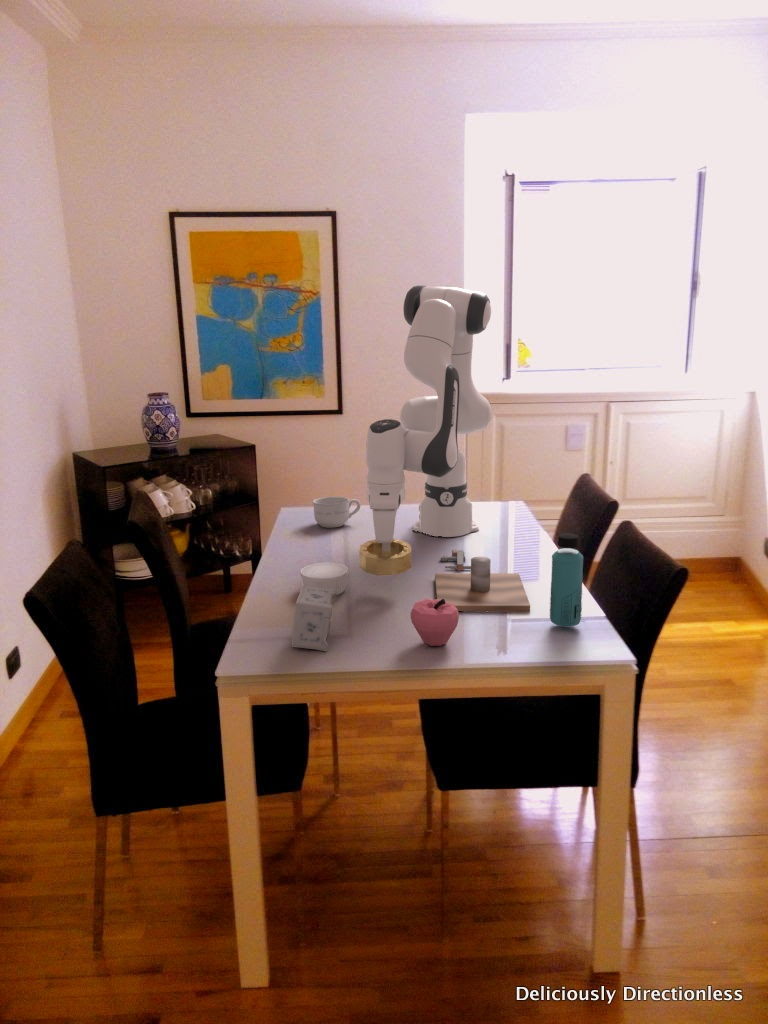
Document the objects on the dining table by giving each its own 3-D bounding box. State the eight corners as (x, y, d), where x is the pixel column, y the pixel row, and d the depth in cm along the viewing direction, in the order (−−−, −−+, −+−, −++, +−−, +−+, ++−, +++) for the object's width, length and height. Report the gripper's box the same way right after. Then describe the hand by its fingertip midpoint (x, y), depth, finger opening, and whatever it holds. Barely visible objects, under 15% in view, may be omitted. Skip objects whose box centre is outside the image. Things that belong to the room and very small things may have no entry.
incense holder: (333, 652, 158) (331, 603, 155) (291, 652, 158) (288, 603, 155) (338, 631, 167) (336, 584, 164) (298, 631, 167) (295, 584, 165)
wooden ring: (362, 553, 191) (361, 538, 189) (411, 554, 190) (411, 538, 189) (358, 575, 180) (357, 558, 178) (410, 575, 179) (410, 559, 178)
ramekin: (296, 586, 193) (295, 565, 191) (341, 579, 196) (340, 559, 195) (307, 602, 183) (306, 580, 181) (354, 595, 186) (354, 574, 185)
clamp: (440, 549, 212) (479, 549, 211) (440, 557, 212) (479, 557, 211) (439, 568, 197) (480, 569, 196) (439, 577, 198) (480, 578, 197)
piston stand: (435, 579, 195) (435, 546, 193) (518, 579, 194) (519, 545, 192) (437, 612, 176) (437, 575, 174) (530, 611, 175) (531, 575, 173)
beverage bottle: (575, 636, 163) (580, 541, 157) (544, 629, 166) (547, 537, 161) (584, 624, 168) (589, 532, 163) (553, 618, 172) (557, 528, 166)
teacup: (311, 530, 236) (310, 504, 233) (316, 520, 246) (315, 494, 244) (359, 530, 235) (358, 503, 233) (361, 519, 245) (361, 494, 243)
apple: (455, 633, 165) (456, 588, 162) (461, 652, 157) (462, 604, 154) (409, 635, 165) (408, 589, 162) (412, 654, 156) (412, 606, 154)
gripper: (374, 479, 195) (375, 534, 199) (369, 504, 175) (370, 563, 179) (401, 479, 195) (401, 534, 199) (398, 504, 175) (398, 564, 179)
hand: (386, 548), depth 189 cm, fingers closed on wooden ring, 2 cm apart
